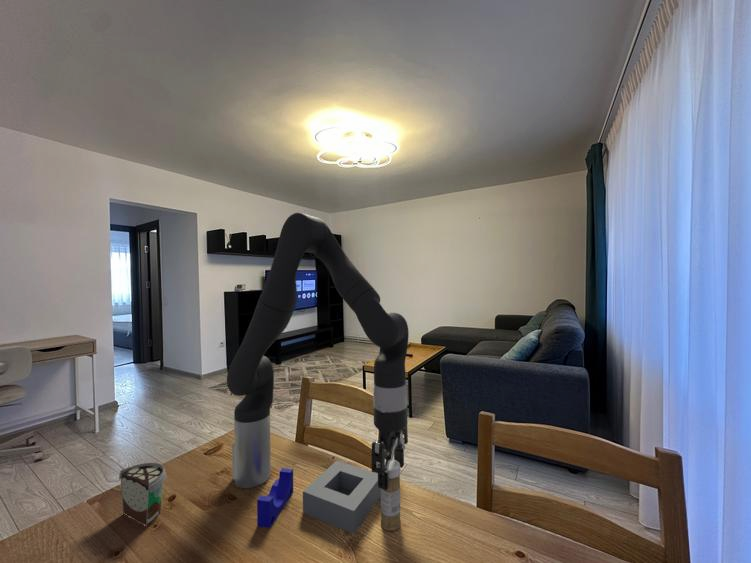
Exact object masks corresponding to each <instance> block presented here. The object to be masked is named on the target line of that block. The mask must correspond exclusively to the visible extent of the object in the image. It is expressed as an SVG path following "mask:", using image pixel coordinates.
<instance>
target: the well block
mask: <svg viewBox="0 0 751 563" xmlns="http://www.w3.org/2000/svg"><path fill="white" fill-rule="evenodd" d="M380 500H381V488H379V487H378V473H375V472H372V470H369V469H366V468H362V467H359V466H356V465H352V464H349V463H346V462H343V461H340V460H335V461H334V462H333V463H332V464H331V465H330V466H329V467H328V468H327V469H325V471H323V472H322V473H321V474H320V475H318V477H317V478H316V479H315V480H313V482H312V483H310V484H309V485H308V486H307V487H306V488H304V490H302V513H303V514H305V515H307V516H309V517H311V518H314V519H317V520H320V522H321V521H322V522H325V523H326V524H329V525H331V526H333V527H336V528H339V529H341V530H342V531H346V532H348V533H350V534H353V535H355V534H356V533H357V531H358V530H359V529H360V527H361V526H362V524H363V523H364V521H365V520H366V518H367V517H368V515H369V514H370V513H371V512H372V510H373V508H374V507H376V505H377V504H378V501H380Z"/></svg>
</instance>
